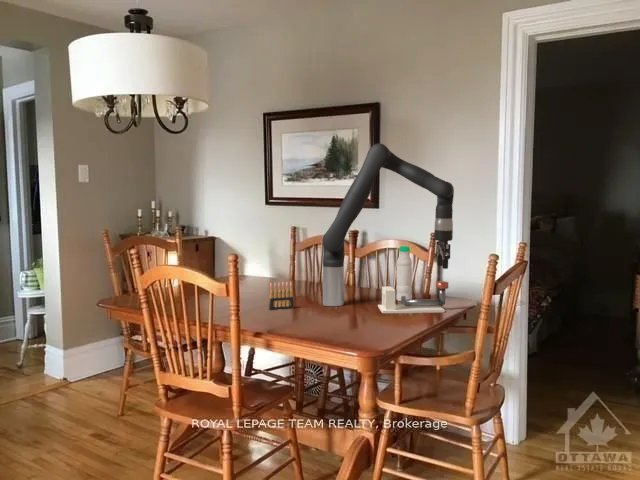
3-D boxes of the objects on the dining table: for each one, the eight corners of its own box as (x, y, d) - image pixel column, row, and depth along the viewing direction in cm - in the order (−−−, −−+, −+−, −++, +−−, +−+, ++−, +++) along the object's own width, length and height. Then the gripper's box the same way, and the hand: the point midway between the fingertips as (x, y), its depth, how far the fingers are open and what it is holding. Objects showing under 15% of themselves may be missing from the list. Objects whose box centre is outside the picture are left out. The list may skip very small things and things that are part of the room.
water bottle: (411, 302, 259) (411, 247, 257) (395, 301, 260) (396, 247, 258) (412, 299, 266) (412, 245, 263) (396, 298, 267) (397, 245, 265)
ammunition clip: (292, 307, 248) (292, 280, 247) (293, 308, 246) (293, 281, 245) (268, 309, 245) (268, 281, 244) (269, 310, 243) (269, 282, 242)
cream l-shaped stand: (382, 313, 236) (382, 291, 235) (378, 306, 249) (378, 286, 248) (444, 312, 237) (445, 290, 236) (437, 306, 250) (437, 285, 249)
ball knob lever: (402, 307, 240) (402, 283, 239) (400, 305, 245) (400, 281, 244) (449, 306, 241) (449, 283, 240) (446, 304, 246) (446, 281, 245)
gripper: (430, 227, 247) (429, 265, 249) (439, 230, 233) (438, 269, 235) (447, 227, 248) (446, 265, 249) (457, 230, 234) (456, 269, 235)
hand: (442, 267), depth 242 cm, fingers open, 8 cm apart
